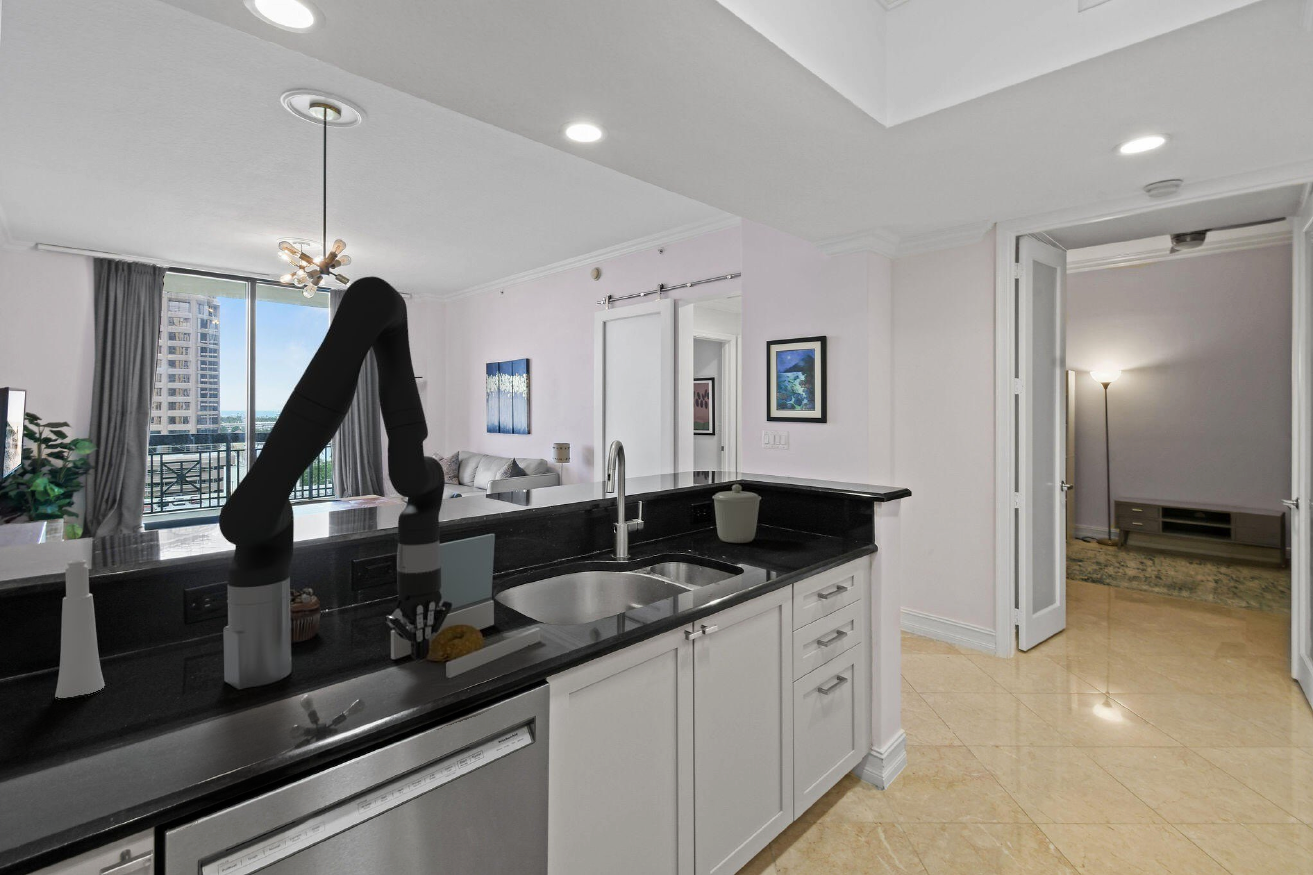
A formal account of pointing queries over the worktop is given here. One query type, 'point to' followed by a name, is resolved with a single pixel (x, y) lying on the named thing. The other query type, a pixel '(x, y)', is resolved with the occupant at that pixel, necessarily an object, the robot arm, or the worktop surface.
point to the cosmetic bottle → (78, 637)
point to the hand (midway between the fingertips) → (420, 659)
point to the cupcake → (303, 614)
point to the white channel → (478, 619)
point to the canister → (736, 515)
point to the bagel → (455, 643)
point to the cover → (466, 572)
